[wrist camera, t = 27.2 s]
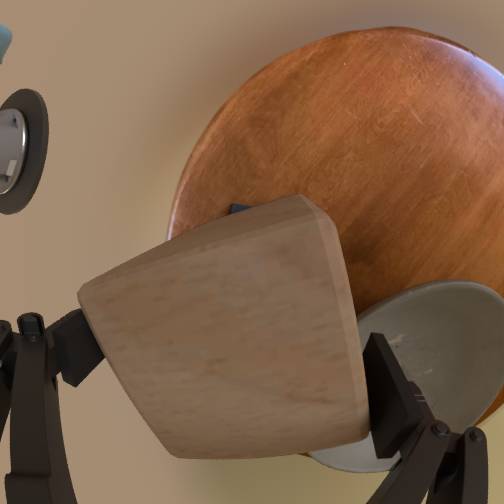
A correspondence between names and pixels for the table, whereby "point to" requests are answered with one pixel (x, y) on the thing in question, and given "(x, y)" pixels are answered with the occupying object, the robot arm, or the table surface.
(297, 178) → the table surface
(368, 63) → the table surface
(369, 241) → the table surface
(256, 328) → the wooden block
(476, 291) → the bowl
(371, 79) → the table surface
